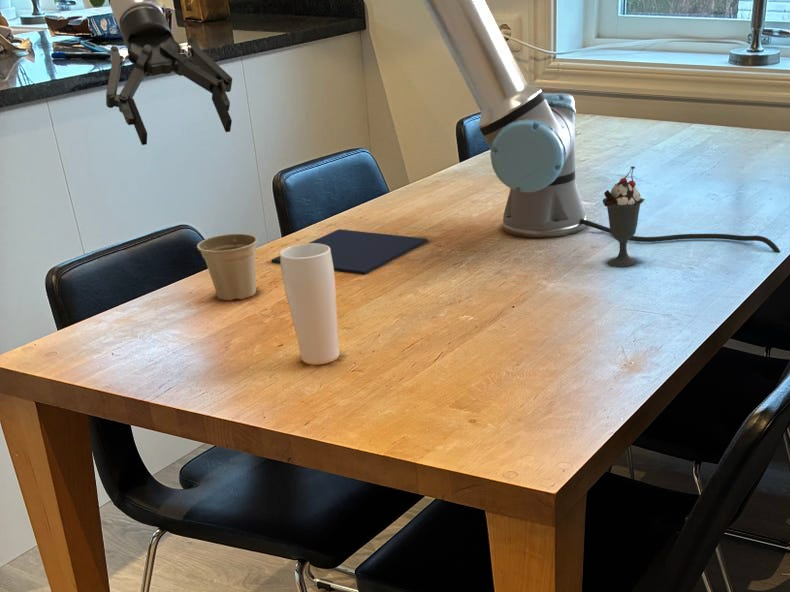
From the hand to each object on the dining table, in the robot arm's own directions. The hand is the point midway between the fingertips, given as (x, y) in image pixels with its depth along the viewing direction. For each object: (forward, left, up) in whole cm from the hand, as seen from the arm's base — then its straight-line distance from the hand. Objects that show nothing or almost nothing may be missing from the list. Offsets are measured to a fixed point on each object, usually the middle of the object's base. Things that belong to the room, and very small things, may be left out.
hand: (187, 133), depth 164 cm
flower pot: (-9, +5, -24) cm, 26 cm away
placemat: (-13, -21, -24) cm, 34 cm away
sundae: (-61, -31, -24) cm, 73 cm away
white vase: (-39, +22, -24) cm, 51 cm away
